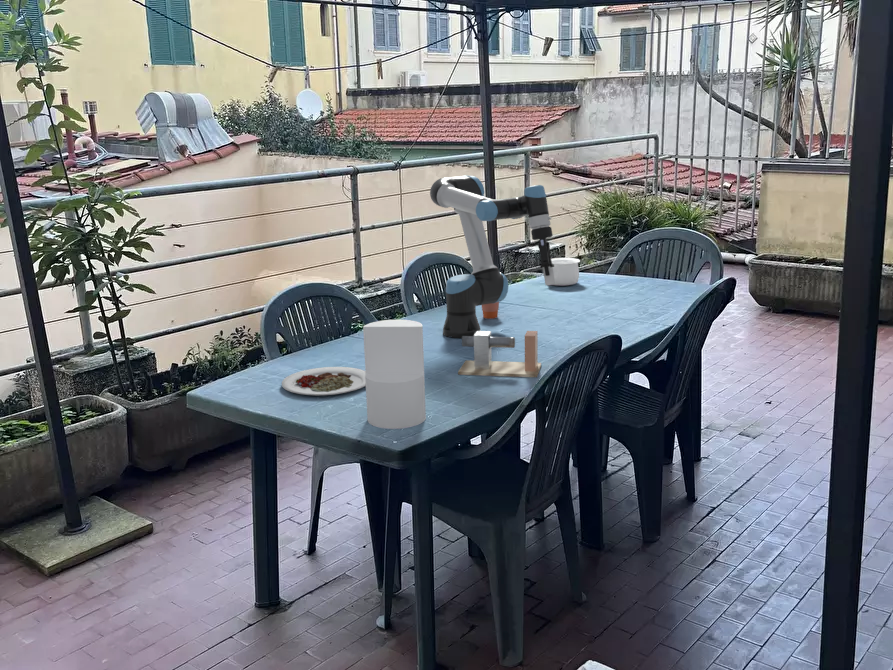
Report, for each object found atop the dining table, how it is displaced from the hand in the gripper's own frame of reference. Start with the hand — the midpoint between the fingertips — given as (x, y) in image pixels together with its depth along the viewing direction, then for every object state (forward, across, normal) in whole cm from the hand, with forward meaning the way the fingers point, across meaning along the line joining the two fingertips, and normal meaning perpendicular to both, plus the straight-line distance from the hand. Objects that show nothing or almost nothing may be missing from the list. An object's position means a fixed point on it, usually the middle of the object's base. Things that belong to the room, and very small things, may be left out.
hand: (550, 285), depth 319 cm
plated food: (+21, -44, +76) cm, 90 cm away
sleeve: (+25, -23, +26) cm, 43 cm away
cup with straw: (+9, +53, +32) cm, 62 cm away
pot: (-1, +125, +2) cm, 125 cm away
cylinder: (+32, -73, +46) cm, 93 cm away
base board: (+26, -23, +21) cm, 41 cm away
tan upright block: (+28, -23, +10) cm, 38 cm away
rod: (+18, -25, +23) cm, 38 cm away
